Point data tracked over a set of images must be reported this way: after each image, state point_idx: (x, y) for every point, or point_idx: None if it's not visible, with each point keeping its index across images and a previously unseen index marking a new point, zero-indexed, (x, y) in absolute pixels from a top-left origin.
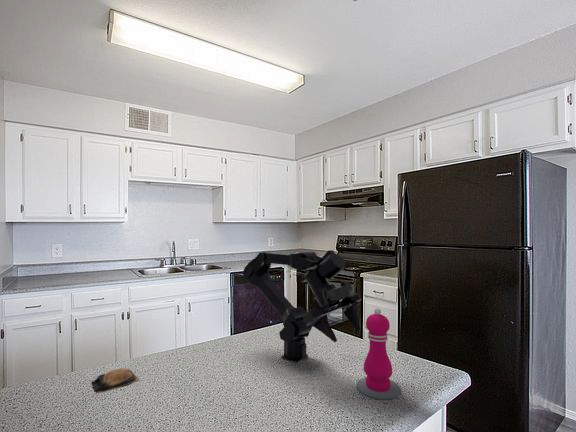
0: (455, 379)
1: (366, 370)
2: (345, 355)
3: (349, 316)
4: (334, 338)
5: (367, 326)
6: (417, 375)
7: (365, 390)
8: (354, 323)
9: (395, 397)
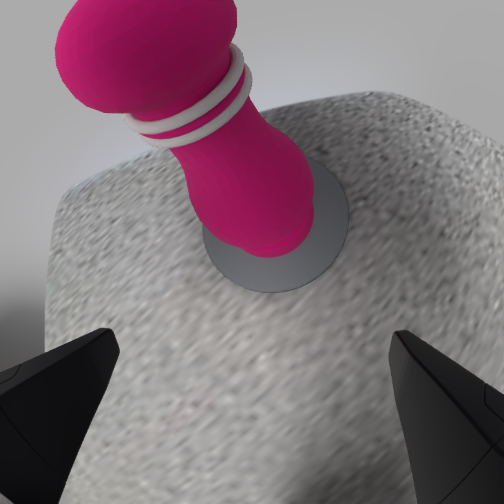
0: (89, 178)
1: (312, 190)
2: (164, 473)
3: (47, 454)
4: (420, 341)
5: (228, 21)
6: (116, 229)
7: (332, 213)
8: (82, 385)
9: None
